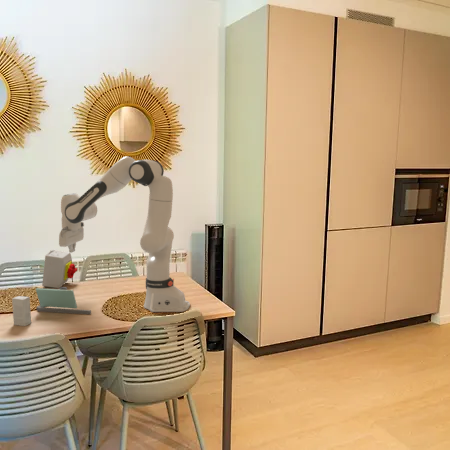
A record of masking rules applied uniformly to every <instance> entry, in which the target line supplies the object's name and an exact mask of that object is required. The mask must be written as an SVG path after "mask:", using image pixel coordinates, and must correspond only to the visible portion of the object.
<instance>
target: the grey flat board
mask: <svg viewBox="0 0 450 450" xmlns="http://www.w3.org/2000/svg"><path fill="white" fill-rule="evenodd" d="M36 311H37V312H42V313H43V312H44V313H45V312H46V313H59V314H61V313H62V314H76V315H78V314H79V315H91V314H92V310H91V309H78V308H61V307H44V306H40V304H39V305H37V306H36Z"/></svg>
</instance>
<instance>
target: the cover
mask: <svg viewBox="0 0 450 450" xmlns="http://www.w3.org/2000/svg"><path fill="white" fill-rule="evenodd" d="M35 291H36V295H37V298H38V302H39V303H38V304H39V305H40V306H44V308H61V309H78V305H77V301H76V297H75V292H74V289H67V290H61V289H59V288H42V287H41V288H39V287H36V289H35Z"/></svg>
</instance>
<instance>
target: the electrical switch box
mask: <svg viewBox="0 0 450 450" xmlns="http://www.w3.org/2000/svg"><path fill="white" fill-rule="evenodd" d="M72 260H73V258H72V255H71V253H70V252H69V251H64V250H57V249H51V250H49V251H48V252H47V254H45V255H44V264H43V274H42V283H41V285H42V287H45V288H51V289H59V288H61V287H62V286H63V285H64V284H66V283H67V282H68V280H69V279H73V278H74V275H75V273H76V272H78V268H77V267H76V264H75V263H73V261H72Z"/></svg>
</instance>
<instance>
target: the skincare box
mask: <svg viewBox="0 0 450 450" xmlns="http://www.w3.org/2000/svg"><path fill="white" fill-rule="evenodd" d="M11 304H12V315H13V316H12V318H13V325H14V326H21V327H26V326H28V325H30V324H31V323H32V315H31V314H32V313H31V300H30V296H22V295H18V296H15V297H12V298H11Z"/></svg>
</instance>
